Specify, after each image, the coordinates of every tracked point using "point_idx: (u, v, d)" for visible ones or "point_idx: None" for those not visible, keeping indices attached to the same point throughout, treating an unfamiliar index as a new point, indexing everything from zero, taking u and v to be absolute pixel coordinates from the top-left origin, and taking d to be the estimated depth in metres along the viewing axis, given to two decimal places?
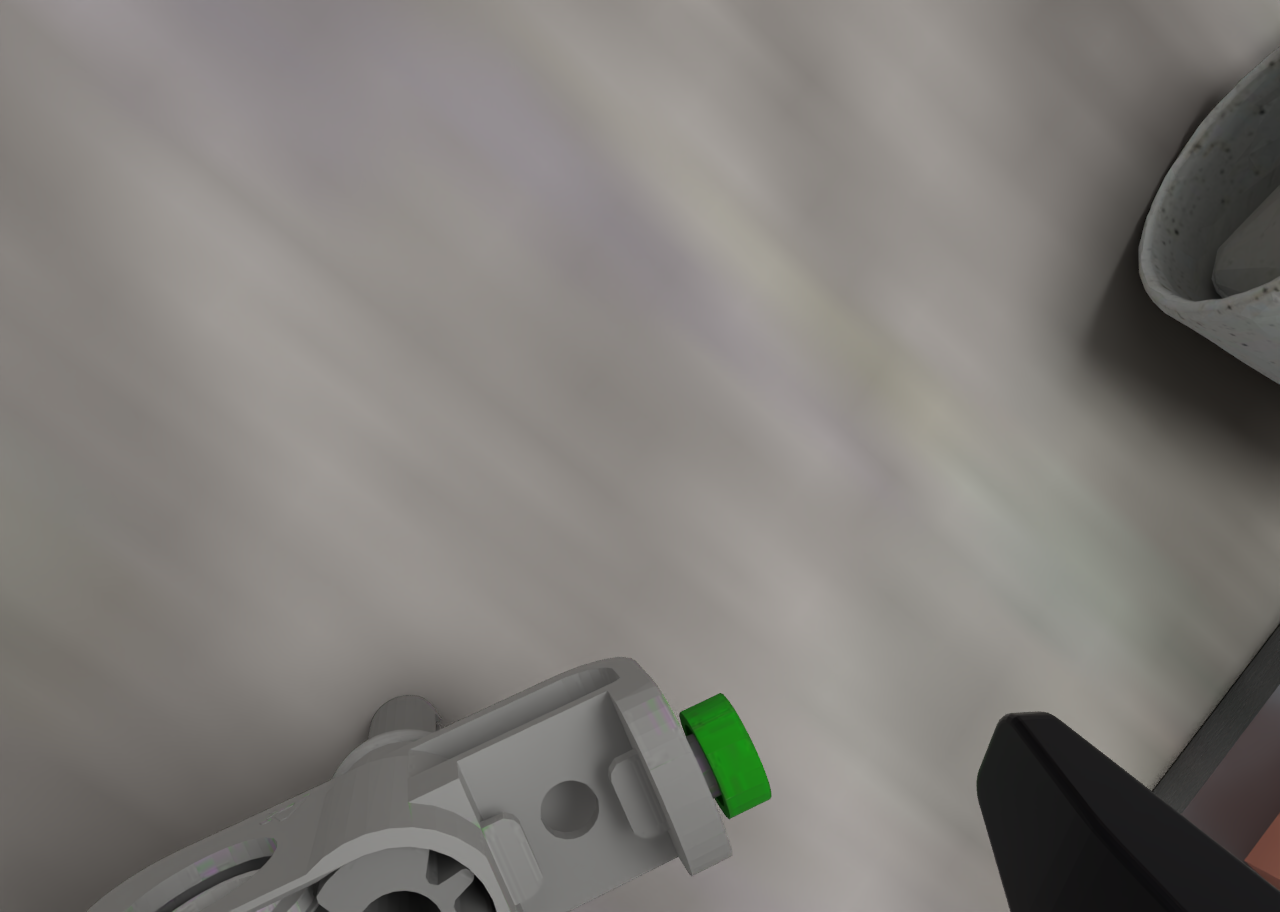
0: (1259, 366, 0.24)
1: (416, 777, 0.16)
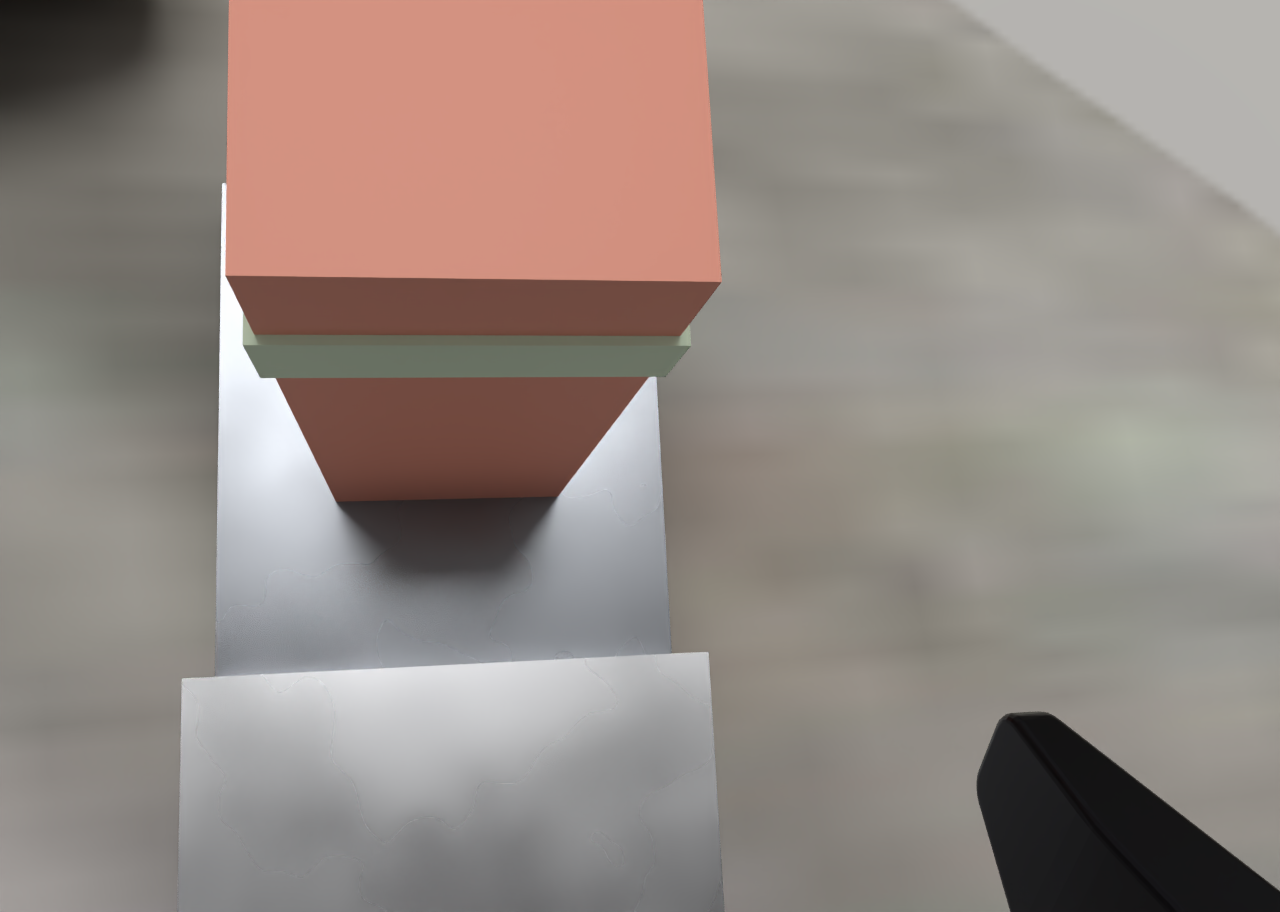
0: None
1: None
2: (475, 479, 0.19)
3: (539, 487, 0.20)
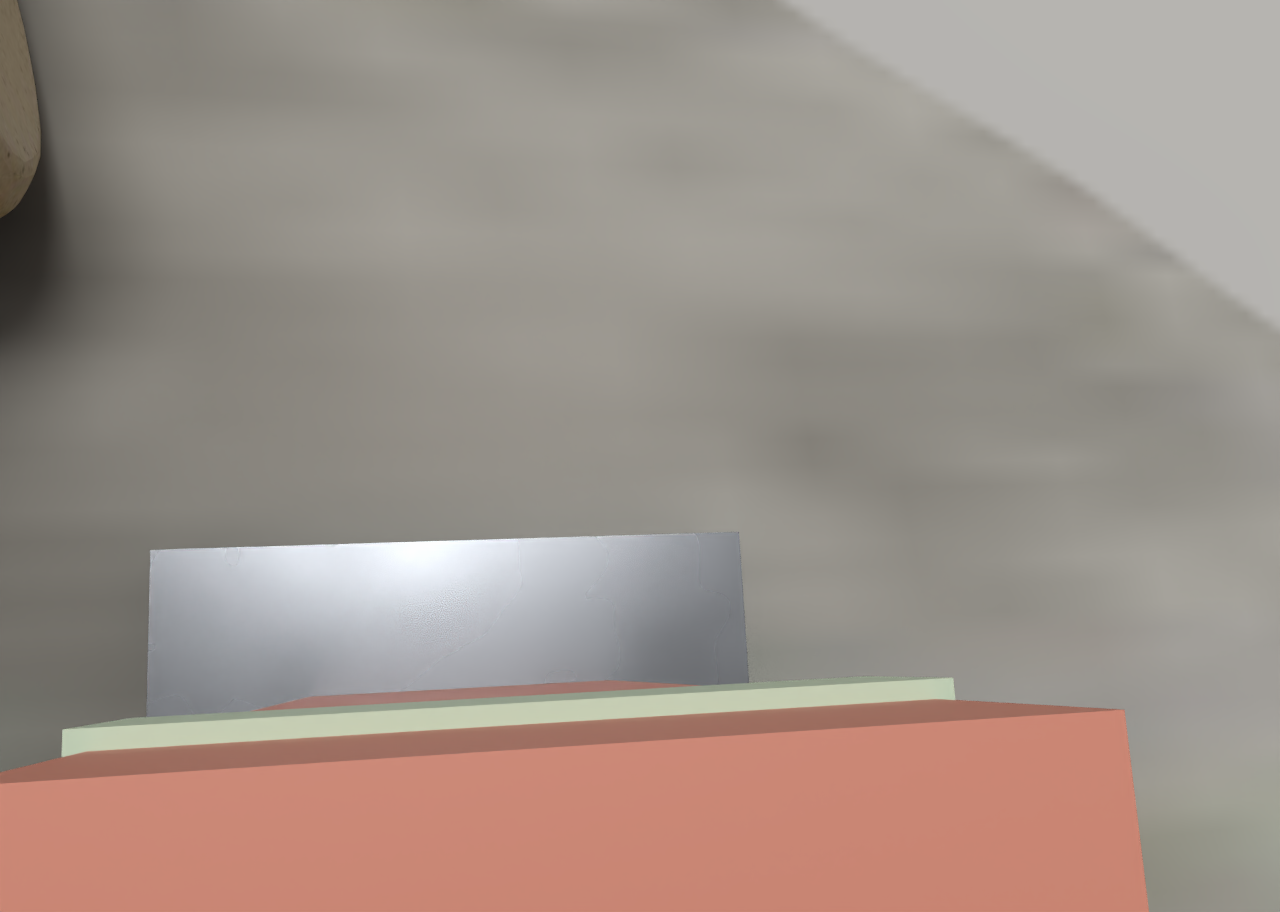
0: None
1: None
2: None
3: None
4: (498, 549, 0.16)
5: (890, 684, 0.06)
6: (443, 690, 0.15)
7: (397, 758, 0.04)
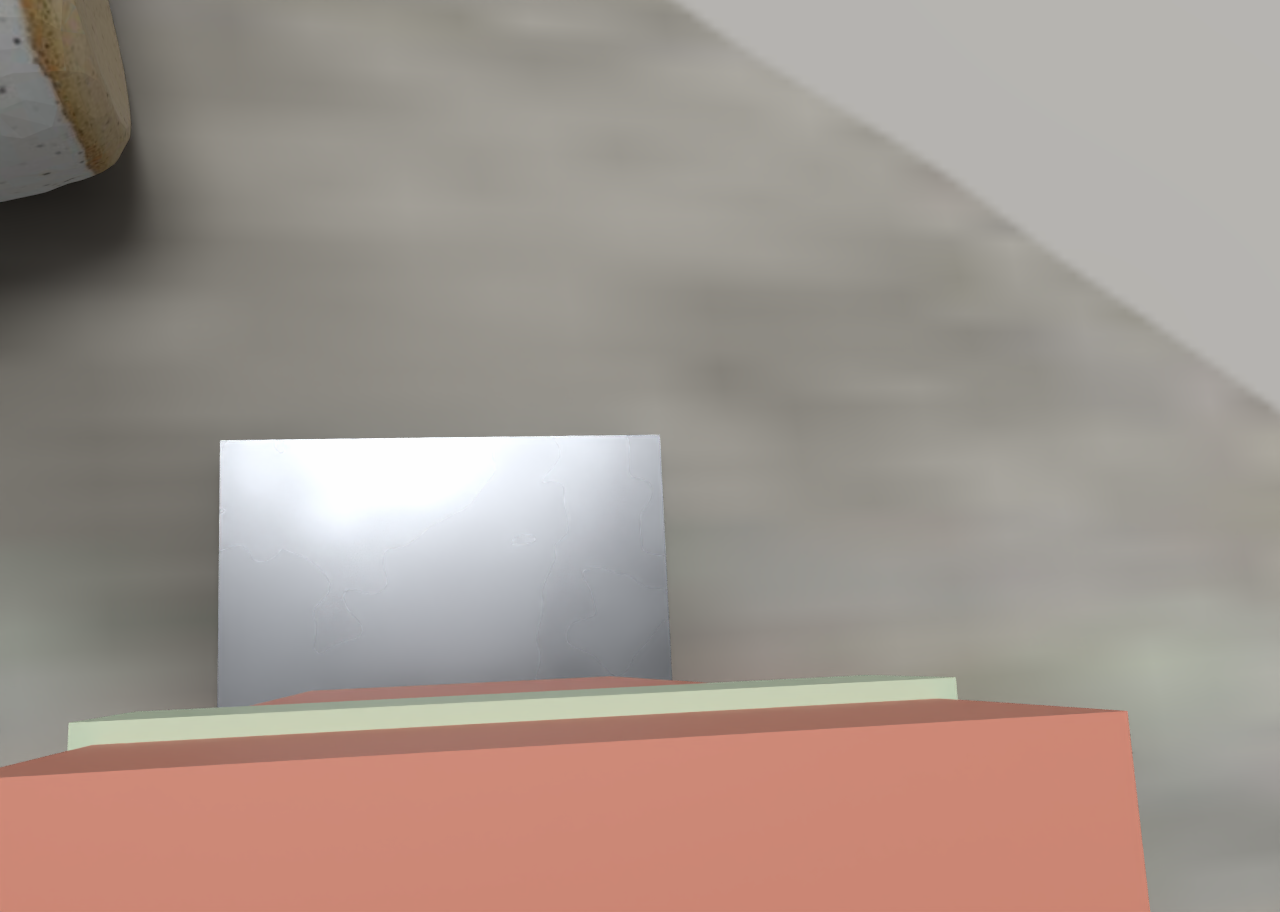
0: None
1: None
2: None
3: None
4: (477, 445, 0.21)
5: (893, 683, 0.06)
6: (444, 685, 0.15)
7: (403, 755, 0.04)
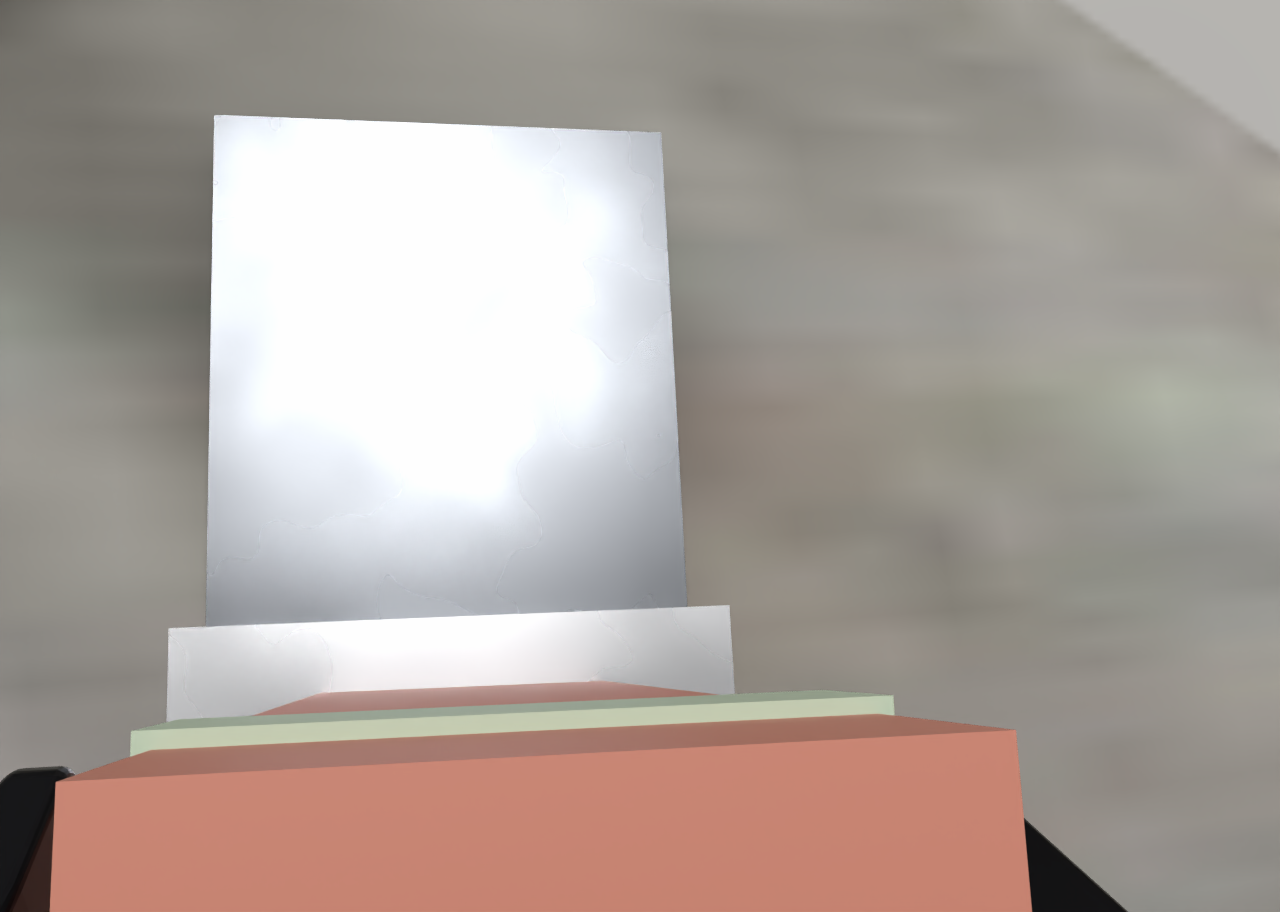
0: None
1: None
2: None
3: None
4: (476, 133, 0.21)
5: (839, 700, 0.07)
6: (446, 689, 0.16)
7: (419, 763, 0.05)
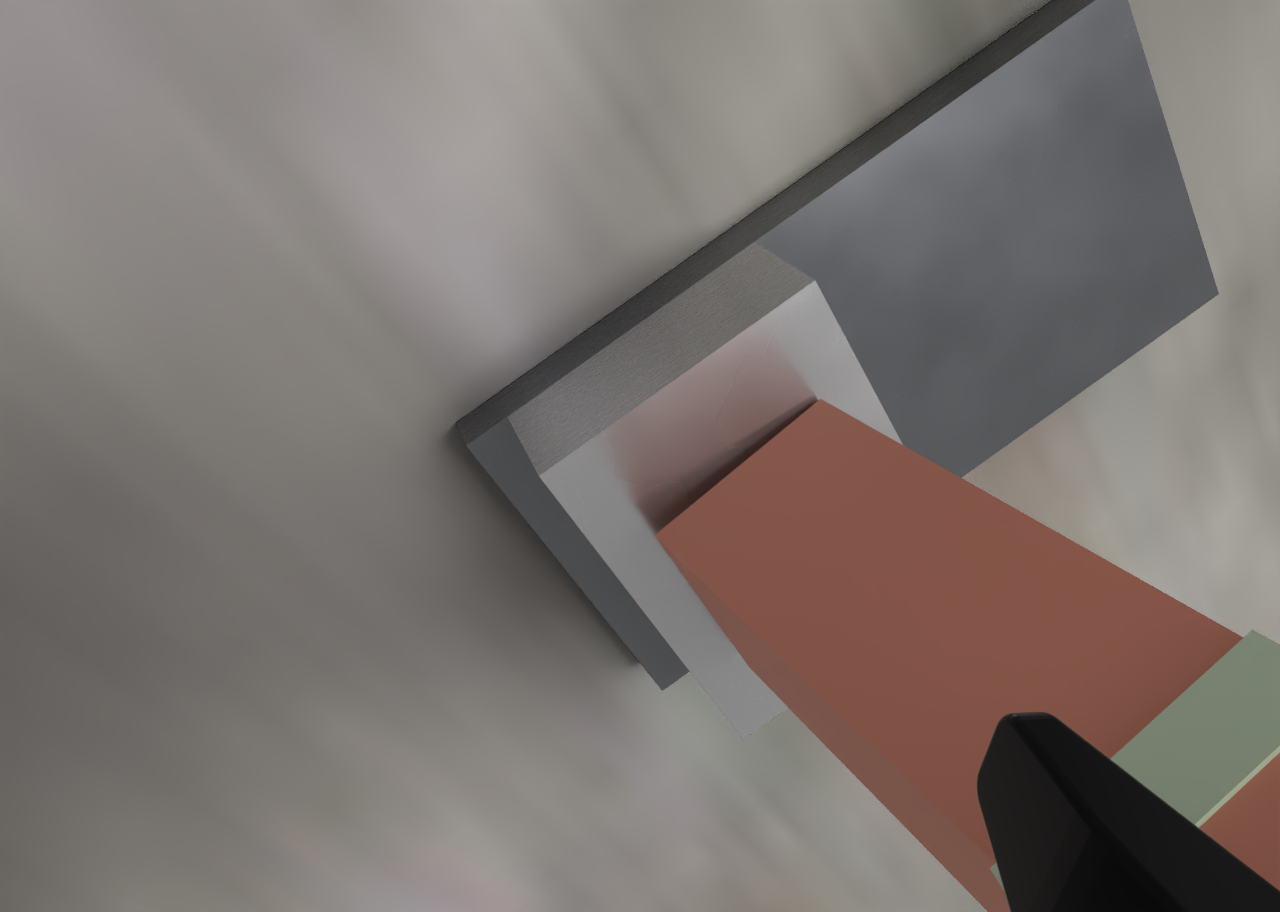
0: None
1: None
2: (768, 671, 0.20)
3: (768, 684, 0.22)
4: (1175, 174, 0.25)
5: None
6: None
7: None
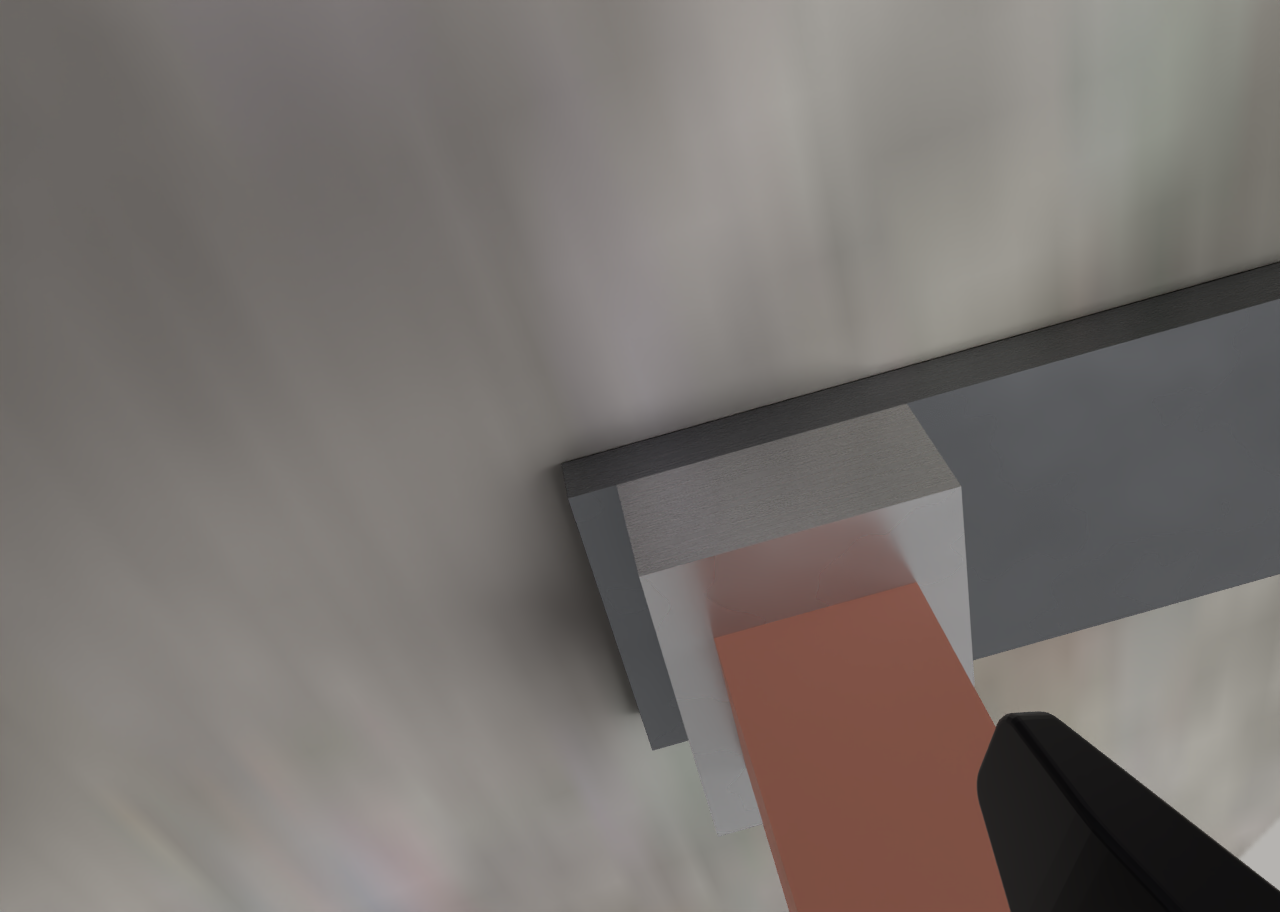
0: None
1: None
2: (759, 801, 0.21)
3: (756, 799, 0.23)
4: None
5: None
6: None
7: None
